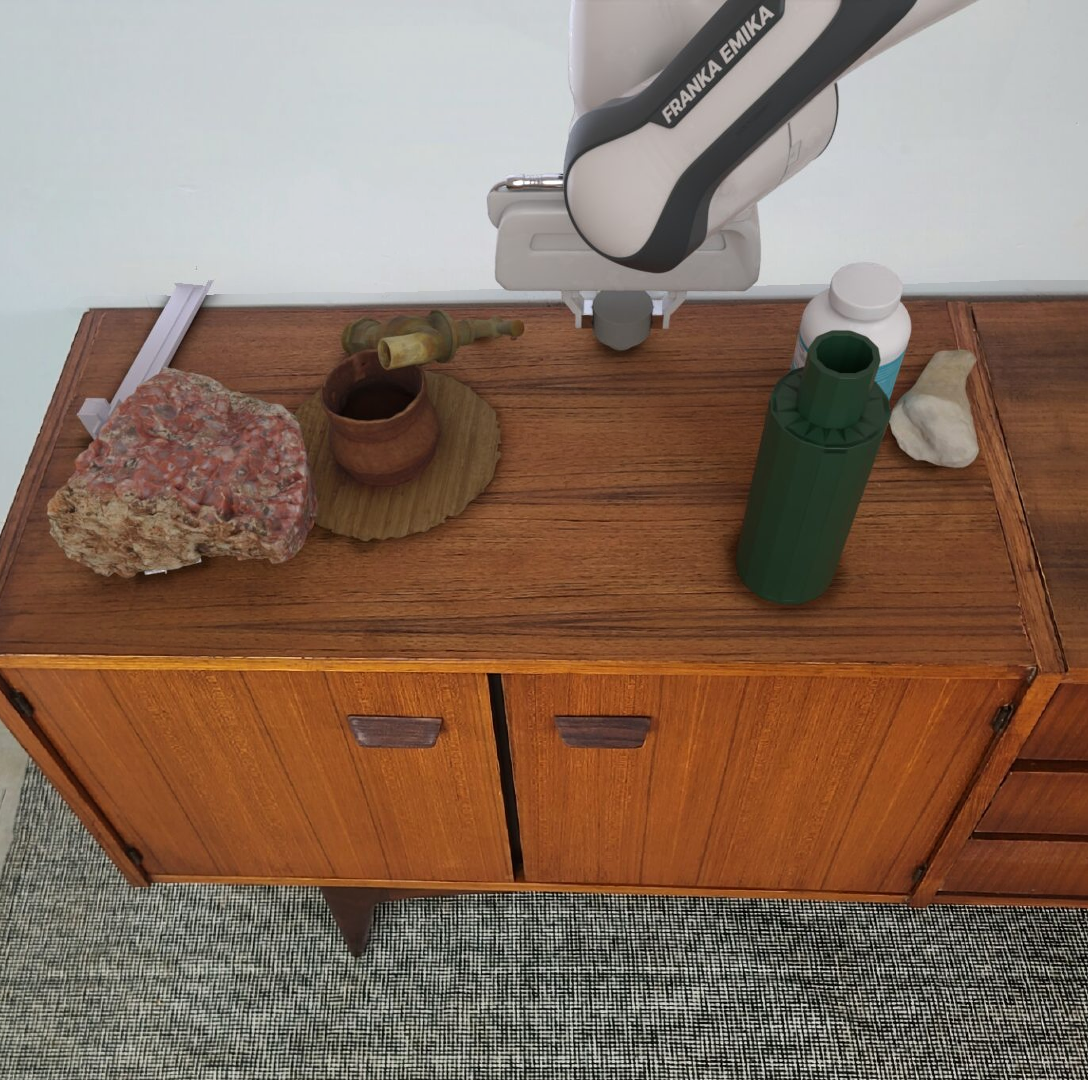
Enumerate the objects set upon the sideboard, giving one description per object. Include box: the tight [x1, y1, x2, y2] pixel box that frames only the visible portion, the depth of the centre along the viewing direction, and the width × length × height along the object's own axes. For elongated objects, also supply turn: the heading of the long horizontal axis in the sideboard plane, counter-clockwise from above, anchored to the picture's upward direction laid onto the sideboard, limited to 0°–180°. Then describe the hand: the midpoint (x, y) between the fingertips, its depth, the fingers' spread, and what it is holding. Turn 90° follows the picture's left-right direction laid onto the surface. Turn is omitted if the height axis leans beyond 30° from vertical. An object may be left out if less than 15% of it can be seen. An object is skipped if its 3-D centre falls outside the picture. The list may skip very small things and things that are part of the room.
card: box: [144, 557, 202, 576], centre depth 80 cm, size 9×3×1 cm, turn 111°
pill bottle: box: [789, 261, 912, 400], centre depth 77 cm, size 8×7×14 cm
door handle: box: [76, 266, 215, 441], centre depth 90 cm, size 21×3×3 cm
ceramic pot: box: [294, 349, 502, 542], centre depth 81 cm, size 18×18×7 cm
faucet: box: [340, 308, 525, 370], centre depth 85 cm, size 15×4×15 cm
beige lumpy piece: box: [888, 349, 980, 469], centre depth 81 cm, size 11×6×5 cm, turn 167°
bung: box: [591, 291, 653, 351], centre depth 88 cm, size 5×5×4 cm
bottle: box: [735, 330, 892, 606], centre depth 68 cm, size 7×7×20 cm
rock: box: [46, 367, 318, 579], centre depth 77 cm, size 17×10×15 cm
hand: (622, 324), depth 88 cm, fingers closed on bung, 5 cm apart
